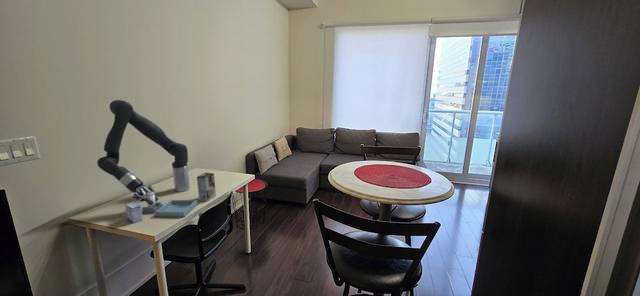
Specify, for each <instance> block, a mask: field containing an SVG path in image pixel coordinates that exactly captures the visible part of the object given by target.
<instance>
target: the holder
mask: <svg viewBox="0 0 640 296" xmlns="http://www.w3.org/2000/svg"><path fill="white" fill-rule="evenodd" d="M162 206H164V203H162V202H159V201H156V208H155V209H154V207H148V206H143V207H141V210H142V214H155V211H157V210H158V209H160V208H161V207H162Z"/></svg>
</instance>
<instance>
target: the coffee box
mask: <svg viewBox="0 0 640 296" xmlns="http://www.w3.org/2000/svg"><path fill="white" fill-rule="evenodd" d="M196 180H197V181H196V182H197V192H198V200H199V201H202V202H209V201H211V200H212V199H214V198H215V197H217V193H216V182H215V181H216V180H215V173H214V172H213V173H211V172H204V173H202V174H200V175H197V176H196Z"/></svg>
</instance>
